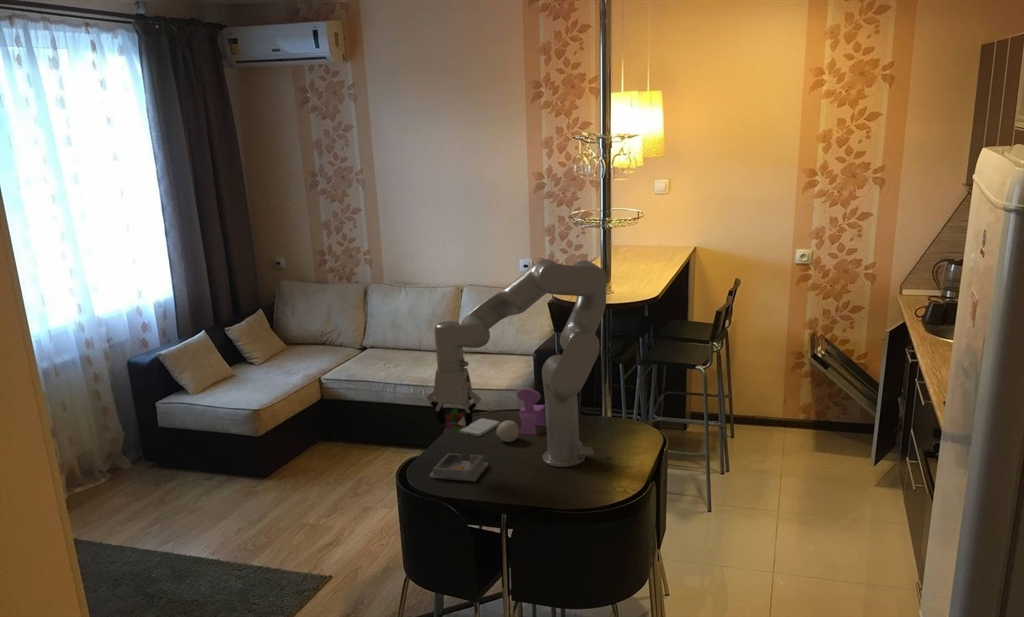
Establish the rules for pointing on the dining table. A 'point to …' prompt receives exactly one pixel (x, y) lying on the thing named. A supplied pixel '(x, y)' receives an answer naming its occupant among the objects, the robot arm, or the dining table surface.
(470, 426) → the external hard drive
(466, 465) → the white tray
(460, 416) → the geometric puzzle
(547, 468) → the dining table surface
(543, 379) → the robot arm
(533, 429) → the toy chair
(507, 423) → the baseball
